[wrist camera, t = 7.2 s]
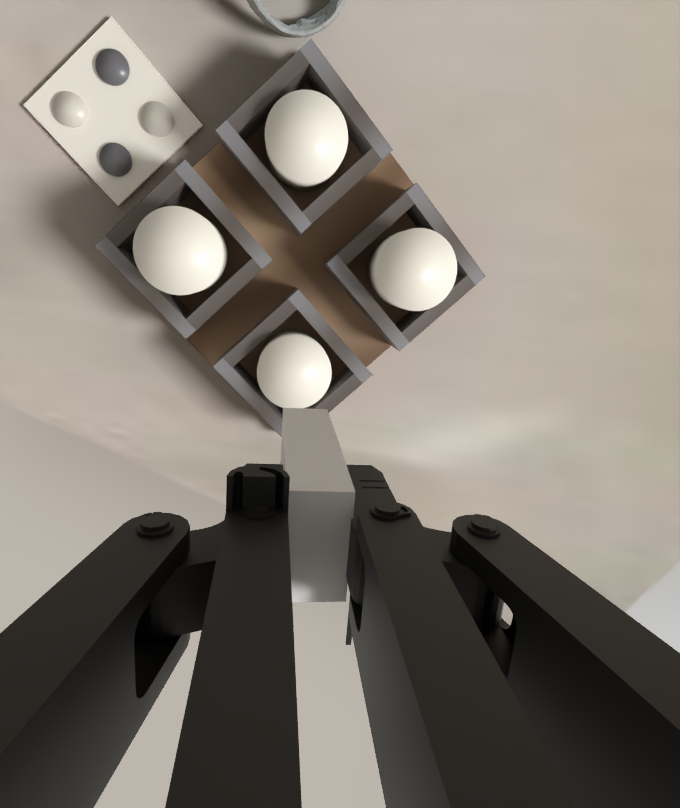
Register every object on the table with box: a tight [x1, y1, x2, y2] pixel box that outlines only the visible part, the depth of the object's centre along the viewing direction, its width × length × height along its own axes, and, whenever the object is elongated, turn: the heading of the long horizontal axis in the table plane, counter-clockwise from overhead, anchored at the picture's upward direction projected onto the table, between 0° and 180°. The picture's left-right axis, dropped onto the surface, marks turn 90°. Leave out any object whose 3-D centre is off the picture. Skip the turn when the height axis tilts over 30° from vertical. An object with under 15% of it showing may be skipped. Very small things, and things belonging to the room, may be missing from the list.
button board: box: [95, 39, 486, 437], centre depth 31 cm, size 16×17×4 cm
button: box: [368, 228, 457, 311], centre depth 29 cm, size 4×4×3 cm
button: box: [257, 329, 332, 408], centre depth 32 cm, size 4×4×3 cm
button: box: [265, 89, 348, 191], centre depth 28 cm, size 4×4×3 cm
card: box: [24, 16, 203, 206], centre depth 29 cm, size 7×7×1 cm
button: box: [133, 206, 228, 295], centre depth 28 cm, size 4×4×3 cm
